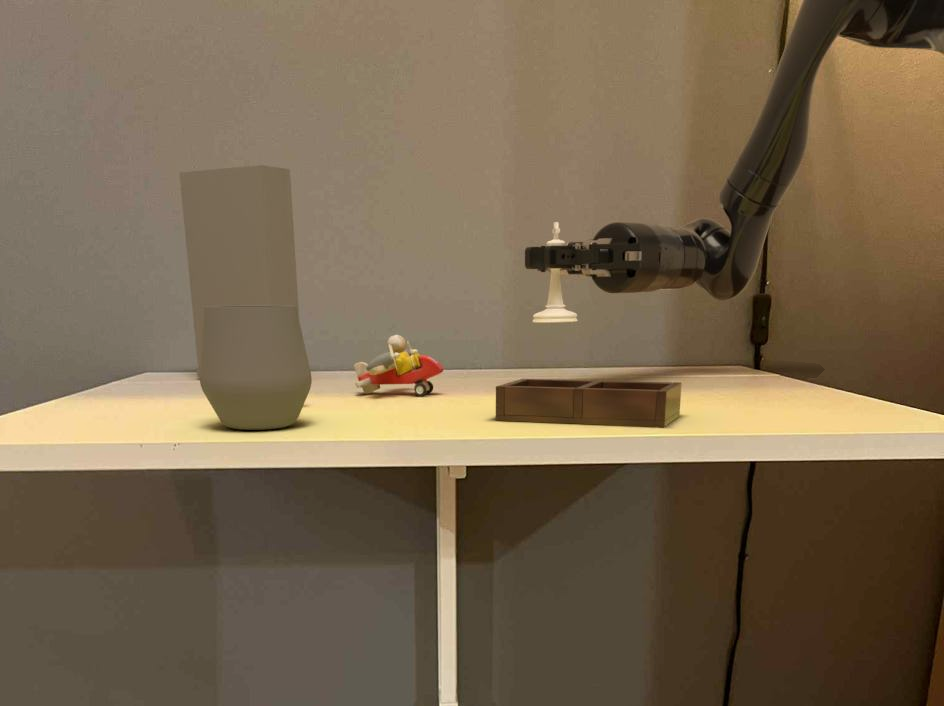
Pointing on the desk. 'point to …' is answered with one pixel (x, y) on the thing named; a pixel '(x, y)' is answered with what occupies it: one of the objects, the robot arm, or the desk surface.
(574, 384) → the divided tray
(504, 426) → the desk surface
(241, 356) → the cup
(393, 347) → the toy airplane
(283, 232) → the khaki block
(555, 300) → the chess piece
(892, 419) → the desk surface
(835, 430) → the desk surface
